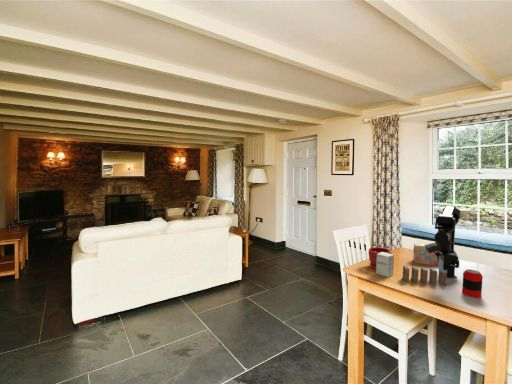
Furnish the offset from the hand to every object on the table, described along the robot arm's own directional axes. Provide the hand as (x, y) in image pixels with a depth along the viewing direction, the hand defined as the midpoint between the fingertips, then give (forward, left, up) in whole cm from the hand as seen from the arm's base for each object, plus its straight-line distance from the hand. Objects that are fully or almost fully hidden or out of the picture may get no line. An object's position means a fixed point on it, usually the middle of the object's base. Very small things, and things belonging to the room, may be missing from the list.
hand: (442, 268), depth 140 cm
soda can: (+3, +12, -12) cm, 17 cm away
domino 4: (-9, -1, -11) cm, 15 cm away
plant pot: (-27, -26, -12) cm, 39 cm away
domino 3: (-9, -6, -11) cm, 16 cm away
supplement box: (-15, -25, -12) cm, 31 cm away
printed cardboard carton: (-46, +11, -12) cm, 49 cm away
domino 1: (-9, -15, -11) cm, 21 cm away
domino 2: (-9, -10, -11) cm, 18 cm away
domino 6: (-9, +4, -11) cm, 15 cm away
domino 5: (0, 0, -2) cm, 2 cm away
